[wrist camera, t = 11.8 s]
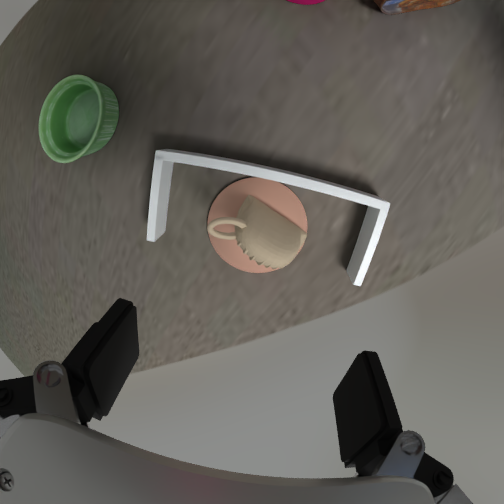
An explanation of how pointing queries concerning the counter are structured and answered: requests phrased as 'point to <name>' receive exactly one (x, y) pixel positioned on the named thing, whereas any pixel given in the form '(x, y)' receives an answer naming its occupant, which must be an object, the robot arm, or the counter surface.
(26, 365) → the counter surface
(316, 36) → the counter surface
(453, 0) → the tin
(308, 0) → the pepper mill
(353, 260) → the white display riser
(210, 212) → the mat
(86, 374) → the robot arm
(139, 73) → the counter surface
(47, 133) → the ramekin
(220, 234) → the beige cup
